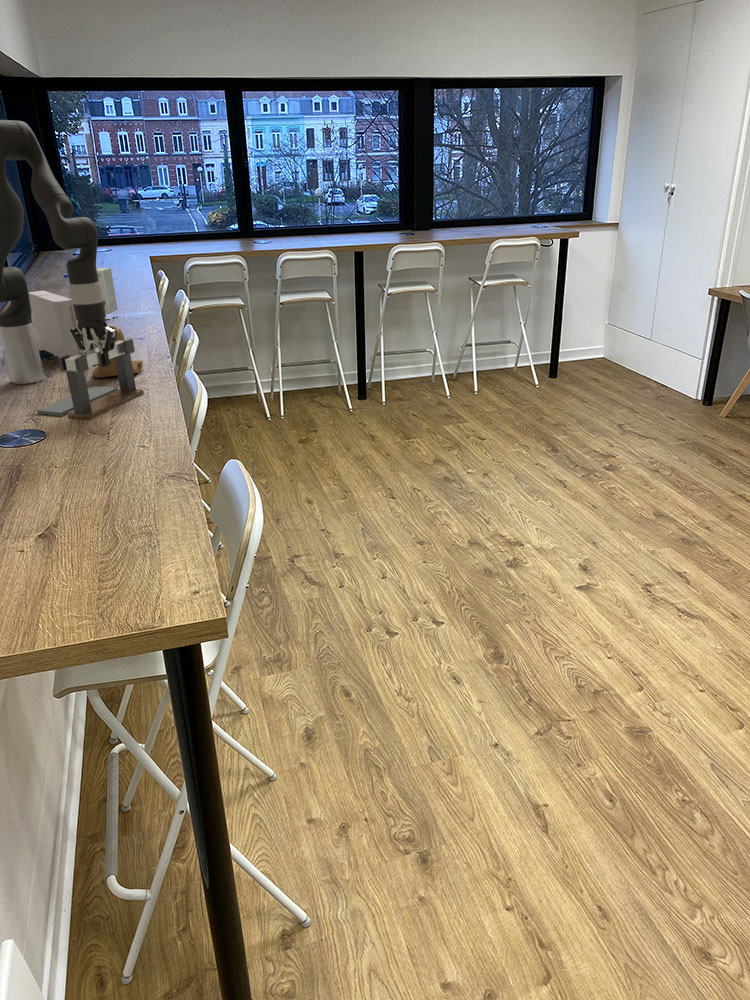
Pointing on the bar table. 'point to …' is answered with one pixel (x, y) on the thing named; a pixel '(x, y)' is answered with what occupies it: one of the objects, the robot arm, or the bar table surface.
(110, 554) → the bar table surface
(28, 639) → the bar table surface
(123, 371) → the cradle stand
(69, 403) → the rubber mat
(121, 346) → the steel rail
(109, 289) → the hard drive box
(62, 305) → the game console
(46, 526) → the bar table surface
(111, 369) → the clay boot vase
